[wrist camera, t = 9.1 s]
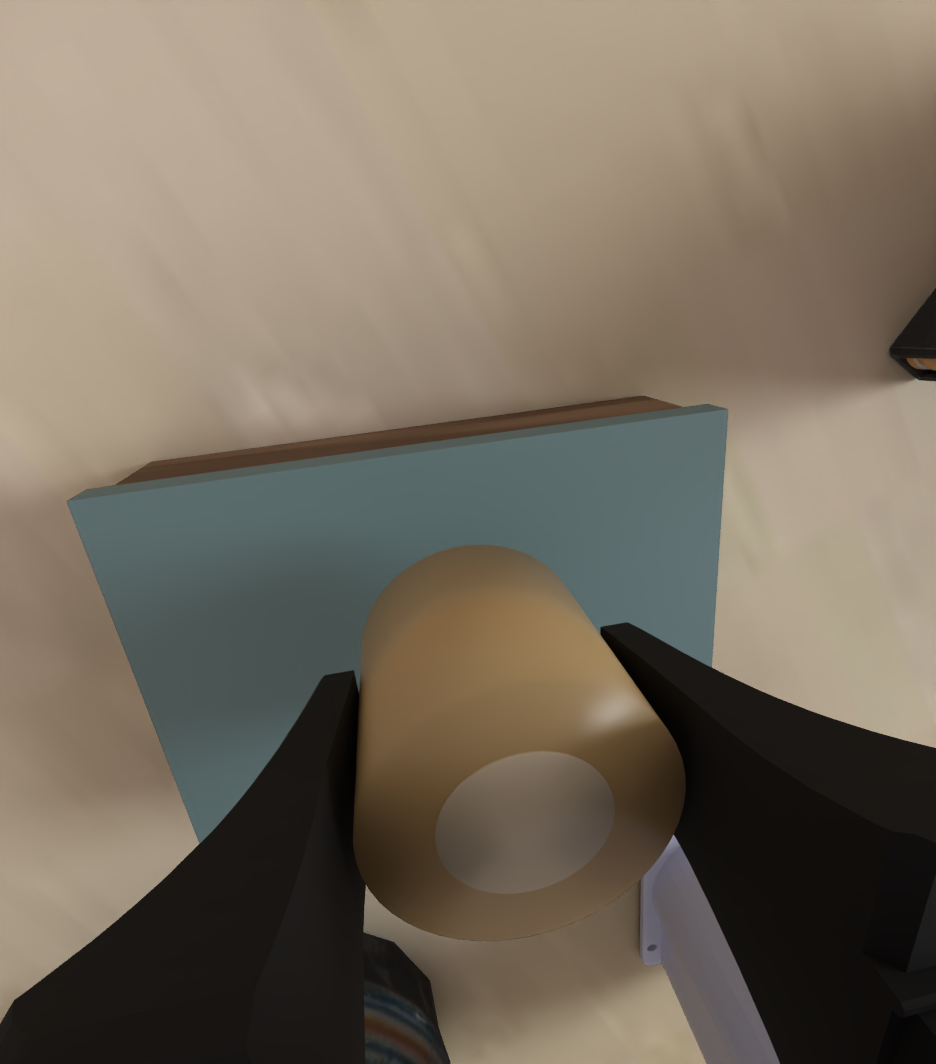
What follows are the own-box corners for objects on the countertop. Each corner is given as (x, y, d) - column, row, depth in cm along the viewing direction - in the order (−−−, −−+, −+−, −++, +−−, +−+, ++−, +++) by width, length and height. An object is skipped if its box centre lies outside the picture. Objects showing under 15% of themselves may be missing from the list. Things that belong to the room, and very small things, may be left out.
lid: (689, 751, 20) (704, 772, 19) (220, 848, 18) (212, 875, 17) (707, 403, 16) (727, 409, 15) (87, 488, 14) (66, 501, 13)
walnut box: (640, 687, 23) (683, 746, 20) (248, 761, 22) (225, 839, 18) (644, 395, 19) (699, 412, 16) (150, 462, 17) (99, 495, 14)
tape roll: (582, 714, 14) (682, 904, 10) (381, 753, 14) (384, 975, 9) (575, 527, 12) (694, 653, 8) (341, 565, 12) (319, 724, 7)
